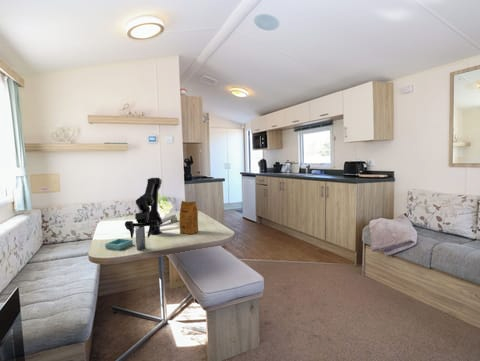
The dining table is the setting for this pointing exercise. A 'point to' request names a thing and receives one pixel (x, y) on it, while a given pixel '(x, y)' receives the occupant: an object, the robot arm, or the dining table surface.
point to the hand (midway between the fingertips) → (139, 237)
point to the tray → (119, 244)
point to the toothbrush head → (170, 218)
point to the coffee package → (188, 218)
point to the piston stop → (140, 238)
